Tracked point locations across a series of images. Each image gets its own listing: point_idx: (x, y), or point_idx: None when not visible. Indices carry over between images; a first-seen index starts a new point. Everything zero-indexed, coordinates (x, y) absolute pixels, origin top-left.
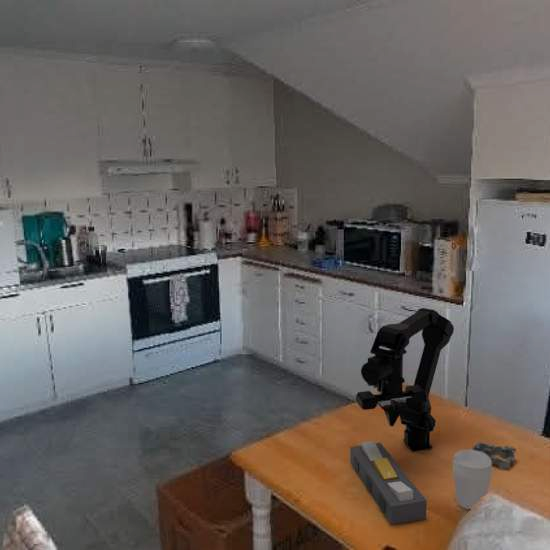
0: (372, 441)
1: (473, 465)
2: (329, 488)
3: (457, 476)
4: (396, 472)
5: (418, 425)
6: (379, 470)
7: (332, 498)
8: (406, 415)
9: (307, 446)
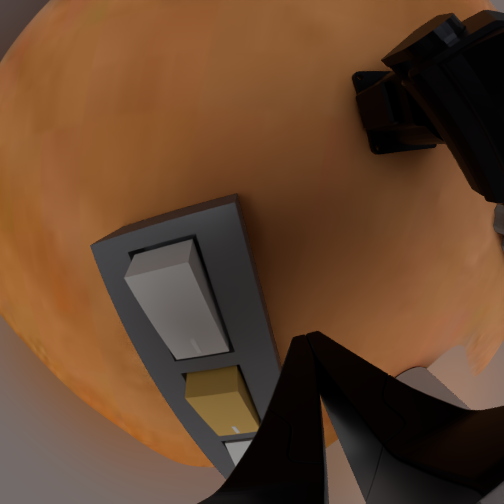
0: (180, 267)
1: (460, 402)
2: (87, 348)
3: None
4: (263, 409)
5: (466, 178)
6: (205, 420)
7: (102, 380)
8: (454, 121)
9: (17, 133)
